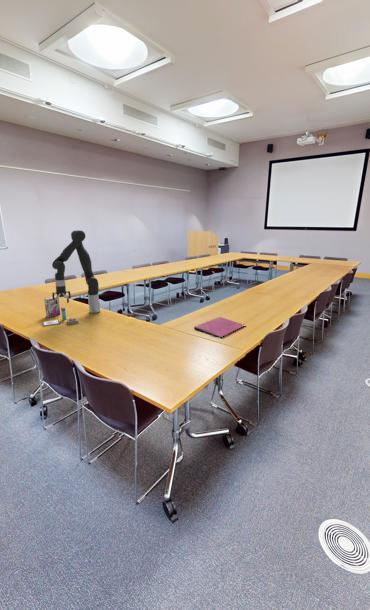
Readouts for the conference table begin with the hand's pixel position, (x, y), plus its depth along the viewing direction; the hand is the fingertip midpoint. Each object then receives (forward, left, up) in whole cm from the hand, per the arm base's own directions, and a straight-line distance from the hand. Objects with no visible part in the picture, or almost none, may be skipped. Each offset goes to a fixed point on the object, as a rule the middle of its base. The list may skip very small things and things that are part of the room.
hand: (62, 303), depth 246 cm
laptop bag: (-108, +79, -15) cm, 135 cm away
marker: (0, 0, -15) cm, 15 cm away
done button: (-5, +11, -13) cm, 18 cm away
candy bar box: (+7, -16, -15) cm, 23 cm away
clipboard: (+11, +5, -14) cm, 19 cm away
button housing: (-5, +11, -14) cm, 19 cm away
